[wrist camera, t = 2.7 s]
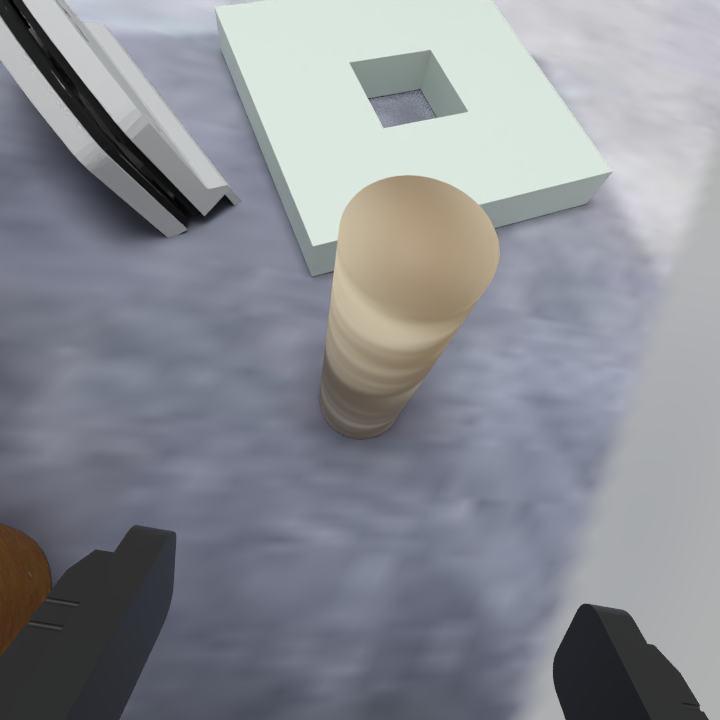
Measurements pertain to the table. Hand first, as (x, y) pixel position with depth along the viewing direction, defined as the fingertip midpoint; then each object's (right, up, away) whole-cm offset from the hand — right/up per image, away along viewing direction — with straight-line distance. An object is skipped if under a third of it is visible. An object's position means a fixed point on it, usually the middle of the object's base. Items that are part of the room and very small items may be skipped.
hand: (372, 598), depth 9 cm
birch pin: (0, +3, +16) cm, 17 cm away
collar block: (+3, +21, +24) cm, 32 cm away
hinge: (-15, +19, +22) cm, 32 cm away
